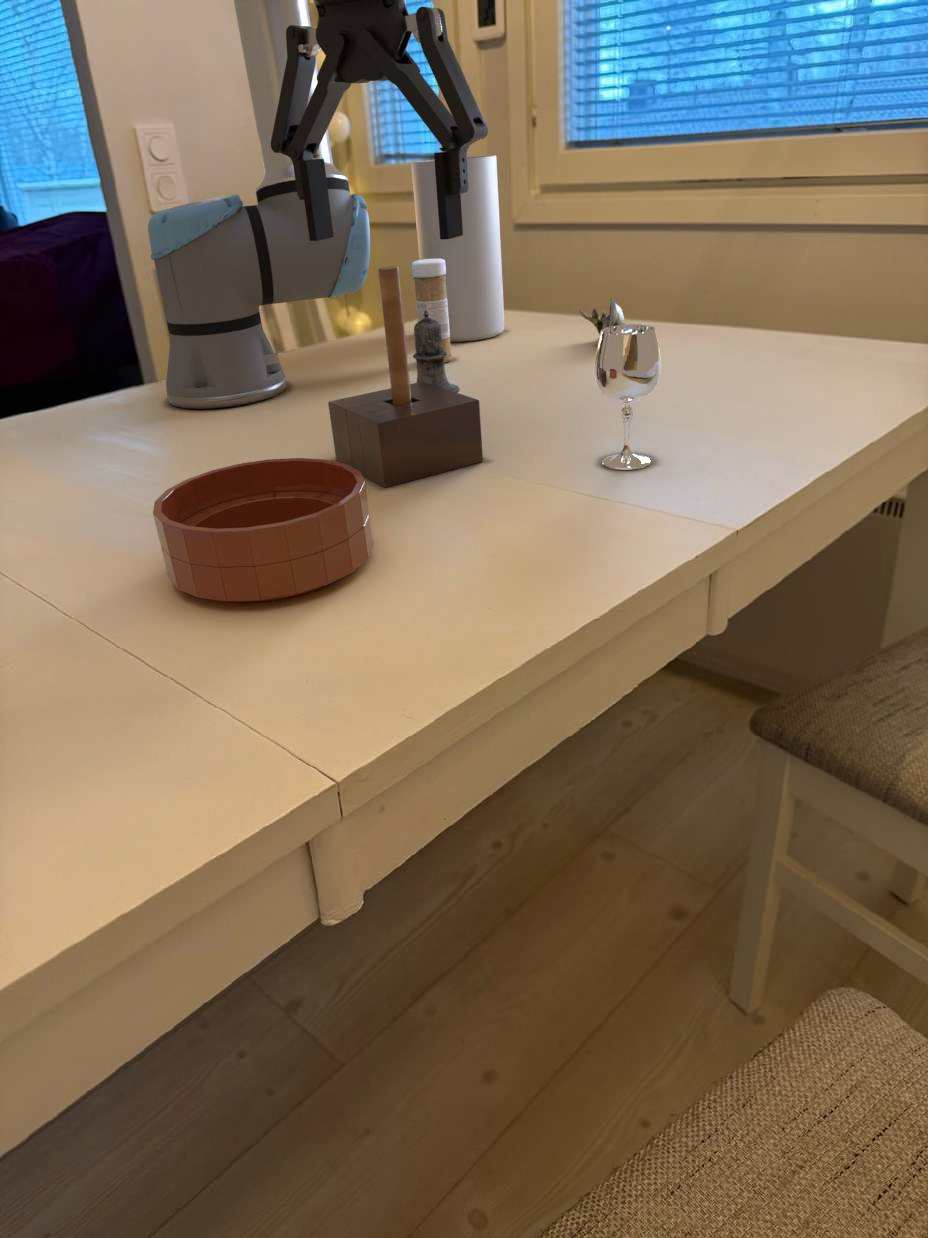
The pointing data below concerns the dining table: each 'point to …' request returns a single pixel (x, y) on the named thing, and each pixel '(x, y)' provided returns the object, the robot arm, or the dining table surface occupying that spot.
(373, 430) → the stick stand
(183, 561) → the bowl
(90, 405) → the dining table surface
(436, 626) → the dining table surface
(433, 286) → the sprinkles bottle
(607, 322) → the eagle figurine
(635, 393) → the wineglass
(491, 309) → the cylinder vase
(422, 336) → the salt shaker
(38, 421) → the dining table surface
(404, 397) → the stirring stick
